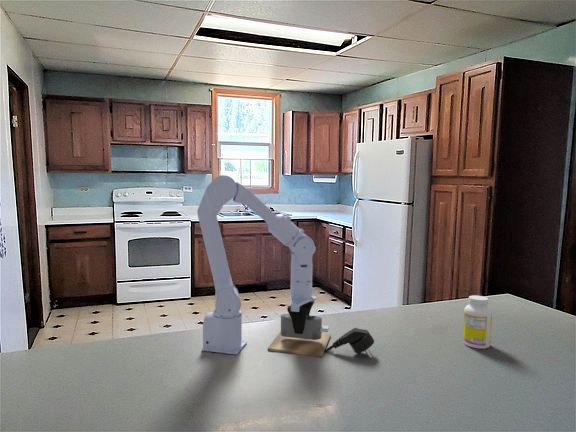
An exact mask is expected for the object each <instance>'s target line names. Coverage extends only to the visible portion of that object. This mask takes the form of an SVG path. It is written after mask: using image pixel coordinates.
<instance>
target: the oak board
mask: <svg viewBox="0 0 576 432" xmlns="http://www.w3.org/2000/svg"><path fill="white" fill-rule="evenodd" d="M330 338H331V334H330V333H322V336H321V339H318V340H311V339H301V338H292V337H284V336H282V335H281V330H280V331H279V332H278V333H277V335H276V336H275V338H273V340H272V341H271V343H270V344H269V346H268V347H267V351H270V352H278V353H284V354H285V353H286V354H293V355H294V354H295V355H303V356H304V355H305V356H312V357H321V358H323V357H324V353H325V351H324V350H325V349H327V346H328V343H329V342H330Z"/></svg>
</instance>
